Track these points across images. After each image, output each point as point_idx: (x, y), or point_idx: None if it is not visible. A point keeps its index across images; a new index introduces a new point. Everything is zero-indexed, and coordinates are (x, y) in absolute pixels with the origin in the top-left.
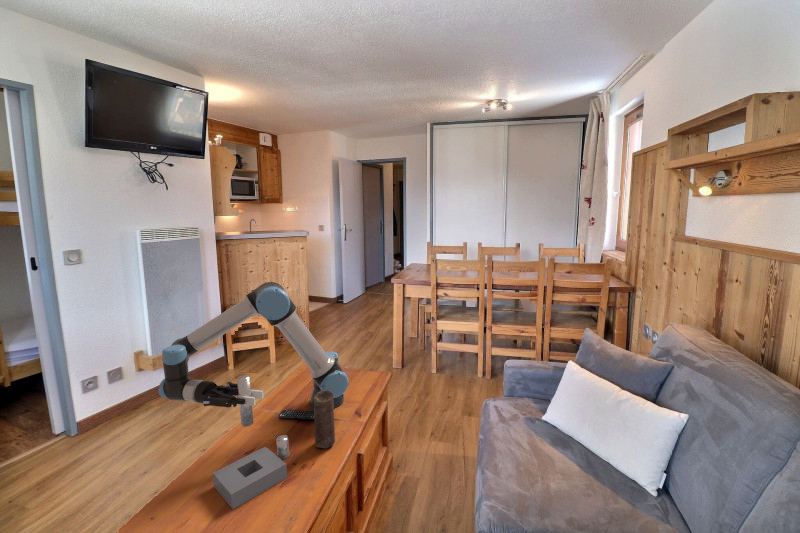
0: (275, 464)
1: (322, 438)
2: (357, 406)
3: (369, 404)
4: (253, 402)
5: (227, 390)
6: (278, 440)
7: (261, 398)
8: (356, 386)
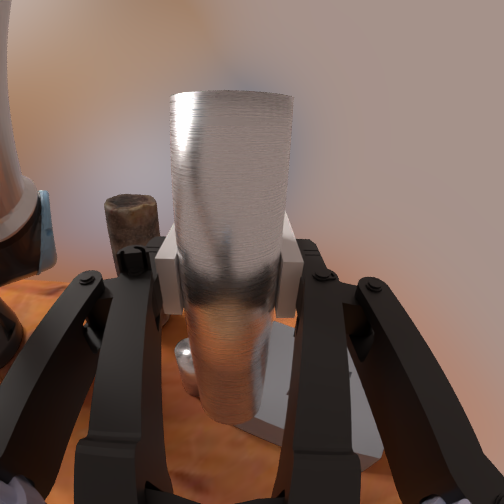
0: (283, 339)
1: None
2: (33, 294)
3: (35, 281)
4: None
5: (148, 462)
6: None
7: None
8: None
